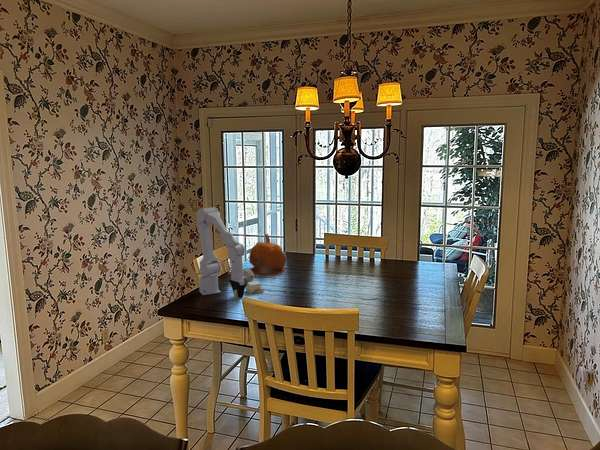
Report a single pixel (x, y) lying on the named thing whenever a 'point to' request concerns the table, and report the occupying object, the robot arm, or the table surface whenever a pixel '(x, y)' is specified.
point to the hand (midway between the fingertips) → (238, 295)
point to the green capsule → (236, 295)
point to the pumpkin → (267, 258)
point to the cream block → (254, 285)
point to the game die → (248, 275)
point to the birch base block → (254, 290)
